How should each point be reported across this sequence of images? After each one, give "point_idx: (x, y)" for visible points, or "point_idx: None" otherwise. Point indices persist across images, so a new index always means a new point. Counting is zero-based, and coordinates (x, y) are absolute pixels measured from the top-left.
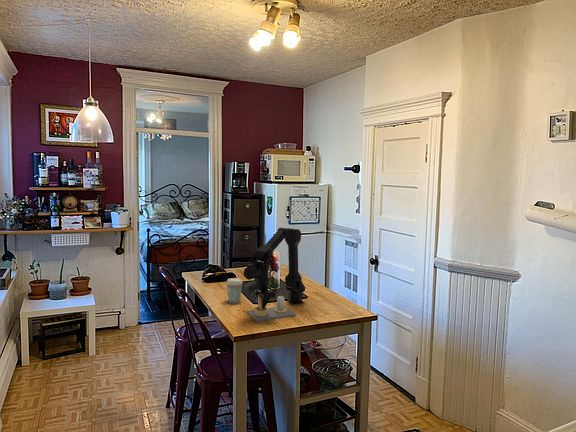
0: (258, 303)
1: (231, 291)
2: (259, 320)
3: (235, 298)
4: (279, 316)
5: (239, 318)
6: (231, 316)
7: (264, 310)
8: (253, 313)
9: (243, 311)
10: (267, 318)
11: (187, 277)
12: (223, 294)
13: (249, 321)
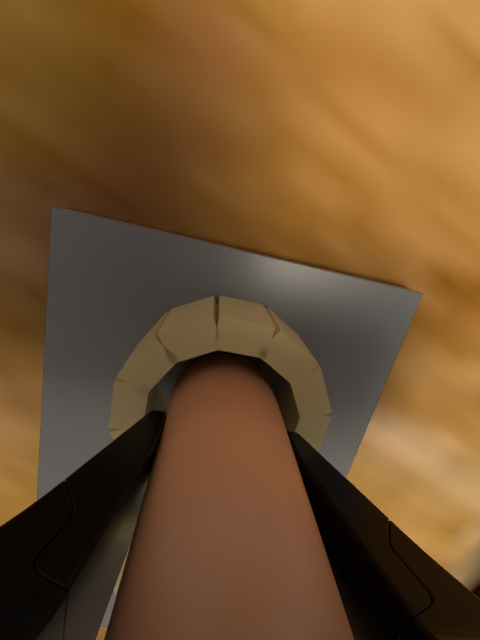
0: (235, 432)
1: None
2: (59, 242)
3: None
4: (39, 485)
5: (311, 67)
6: (456, 12)
7: (121, 410)
8: (289, 305)
9: (473, 283)
10: (46, 352)
11: None
12: None
13: (123, 118)
